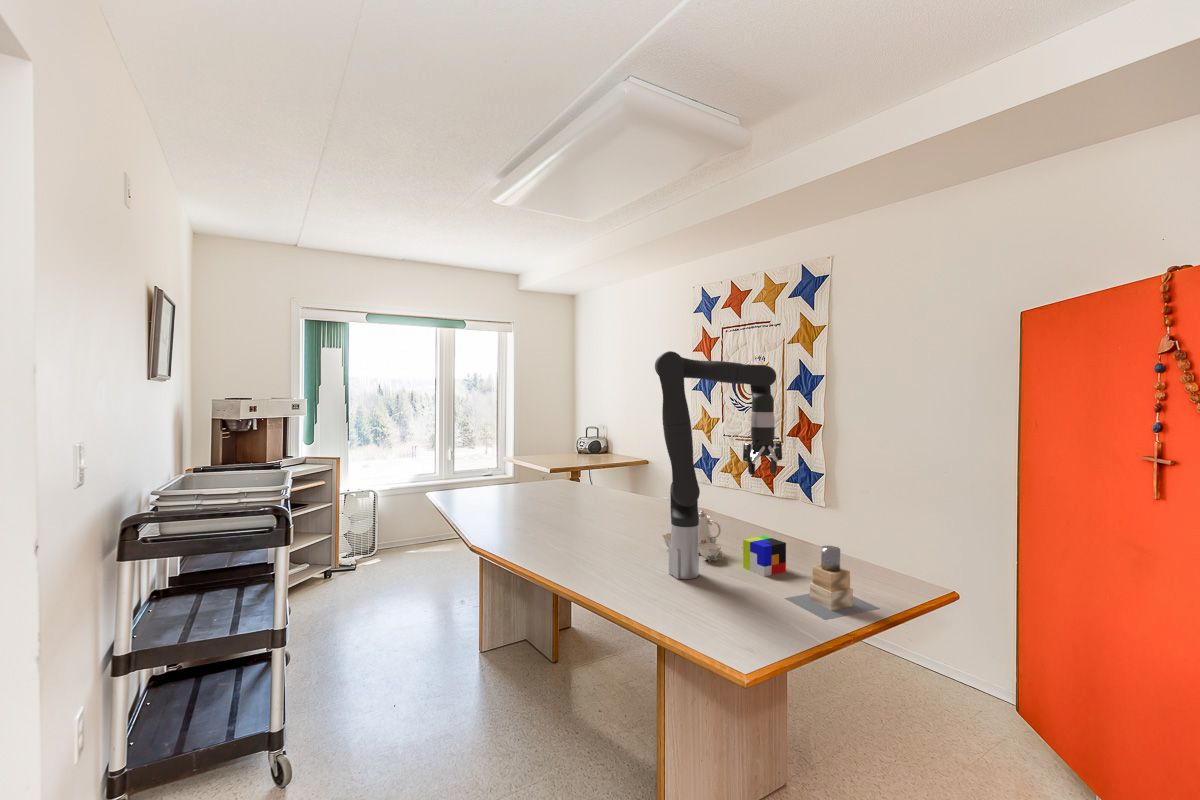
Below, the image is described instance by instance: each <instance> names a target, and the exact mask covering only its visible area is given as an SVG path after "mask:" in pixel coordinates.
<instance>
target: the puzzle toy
mask: <svg viewBox="0 0 1200 800" xmlns="http://www.w3.org/2000/svg"><path fill="white" fill-rule="evenodd" d="M742 541H743V545H742V547H743V549H742V551H743V552H742V556H743V557H742V563H743V564H742V566H743V567H742V568H743V569H745V570H748V571H750V572H753V573H755V574H757V575H759V576H762V577H769V576H773V575H777V574H782V573H786V572H787V542H784V541H782V540H779V539H775V538H774V537H770V536H767V535H760V536H755V537H750V538H744V539H743V540H742Z"/></svg>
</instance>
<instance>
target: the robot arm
mask: <svg viewBox="0 0 1200 800" xmlns="http://www.w3.org/2000/svg"><path fill="white" fill-rule="evenodd" d="M654 370H655V373H656V374H657V375H658V377H659V382H660V386H661V392H662V411H661V412H662V425H663V426H662V428H663V437H664V441H665V445H666V450H667V454H668V458H669V460H670V461H669V462H670V465H671V474H672V475H671V477H672V478H671V480H672V482H671V484H670V492H669V493H670V533H671V545H669V547H668V574H669V573H670V575H671V576H672V575H673V576H672V577H674V578H675V579H677V580H678V579H683V580H691V579H696V578H699V575H700V574H699V573H700V568H699V567H700V565H699V564H700V560H699V559H700V554H699V515H698V513H699V507H698V505H699V504H698V503H699V501H698V500H699V497H700V493H701V491H700V487H699V486H700V485H699V483H698V478H697V475H696V469H695V464H694V444H693V431H692V423H691V421H692V420H691V417H690V416H691V415H690V411H689V410H690V409H689V406H688V401H687V398H686V397H687V395H686V391H685V379H699V380H706V381H711V382H712V381H713V382H718V383H726V384H733V385H734V384H735V385H743V384H745V385H749V386H750V392H751V400H752V401H751V416H750V417H751V418H750V438H751V443H747V442H746V443H745V442H744V443H743V449H742V461H743V462H746V463H747V472H748V473H749V475H750V476H756V464H755V463H756V462H757V460H758V459H759V458H760V457H768V459H769V460H770V462H769V473H770V474H776V473H777V471H778V469H777V468H778V461H782V460H783V447H782V446H783V445H782V442H780V441H774V440H775V436H776V435H775V431H776V429H775V428H776V427H775V412H774V410H775V409H774V408H775V399H774V396H773V395H772V391H771V390H772V389H771V386H772V385H773V384H774V383H776V380H777V372H776V370H775V369H774V368H773V367H772V366H769V365H766V364H765V365H764V364H746V363H745V364H743V363H740V362H732V361H722V360H700V359H698V360H697V359H691V358H687V357H683V356H682V355H680V354H679V353H677V352H675V351H672V350H671V351H668V350H667V351H665V352H663V353H661V354H660V355H659V356H658V357H657V358H656V360H655V362H654Z"/></svg>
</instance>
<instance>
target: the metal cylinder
mask: <svg viewBox="0 0 1200 800" xmlns="http://www.w3.org/2000/svg"><path fill="white" fill-rule="evenodd" d="M820 548H821V552H820V553H821V557H820V558H821V568H822V569H823V570H825V571H830V572H838V571H840V567H841V548H840V547H838V546H834V545H822V546H821V547H820Z"/></svg>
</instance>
